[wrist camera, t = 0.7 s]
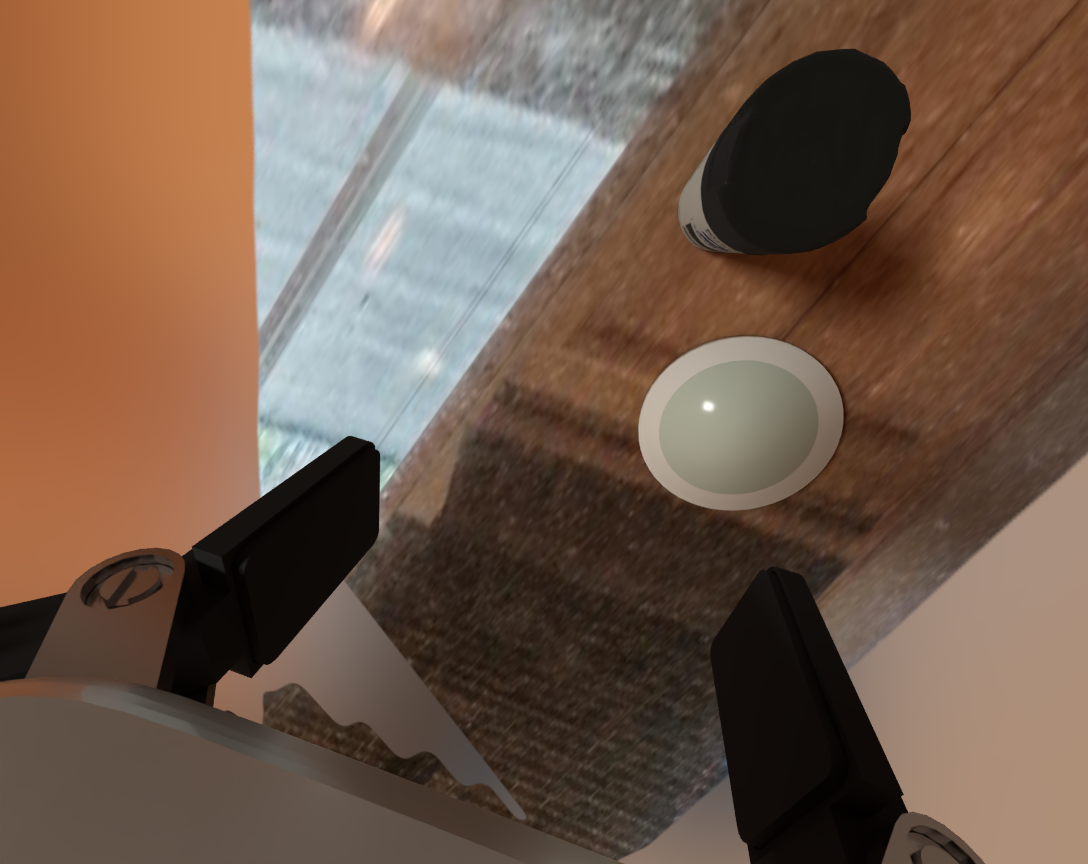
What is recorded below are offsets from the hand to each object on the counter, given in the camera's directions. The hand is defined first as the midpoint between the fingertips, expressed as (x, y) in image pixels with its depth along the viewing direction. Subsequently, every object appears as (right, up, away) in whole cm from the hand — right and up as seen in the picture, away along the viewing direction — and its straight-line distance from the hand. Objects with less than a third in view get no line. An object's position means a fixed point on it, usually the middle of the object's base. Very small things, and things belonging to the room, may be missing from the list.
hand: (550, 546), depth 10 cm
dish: (+18, +3, +30) cm, 36 cm away
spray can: (+14, +21, +23) cm, 34 cm away
